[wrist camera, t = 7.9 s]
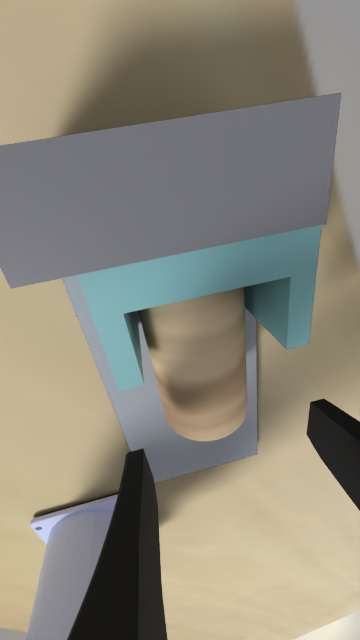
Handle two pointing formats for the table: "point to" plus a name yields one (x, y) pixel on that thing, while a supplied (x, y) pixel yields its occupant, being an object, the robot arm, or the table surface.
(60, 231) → the backstop wall
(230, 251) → the teal arch
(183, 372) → the dowel
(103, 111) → the table surface
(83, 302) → the board
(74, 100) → the table surface
